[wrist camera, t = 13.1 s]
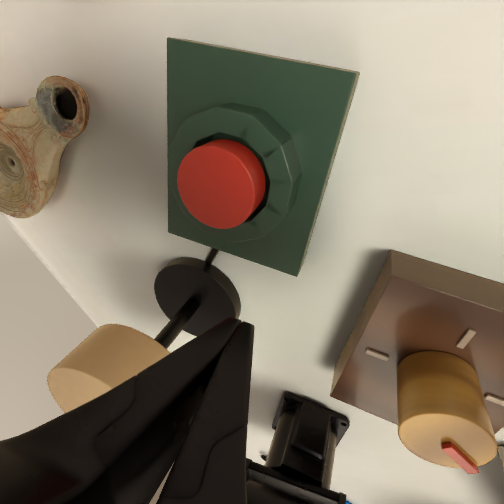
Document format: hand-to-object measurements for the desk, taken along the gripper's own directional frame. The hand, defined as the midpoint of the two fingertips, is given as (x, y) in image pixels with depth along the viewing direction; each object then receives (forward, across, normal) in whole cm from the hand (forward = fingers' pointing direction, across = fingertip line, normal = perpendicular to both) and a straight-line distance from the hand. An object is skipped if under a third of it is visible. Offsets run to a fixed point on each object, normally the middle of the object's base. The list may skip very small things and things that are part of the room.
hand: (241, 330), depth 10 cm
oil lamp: (+12, +24, +3) cm, 27 cm away
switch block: (+12, +4, -1) cm, 13 cm away
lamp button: (+9, +4, -1) cm, 10 cm away
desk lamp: (+12, +8, +10) cm, 18 cm away
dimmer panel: (+12, -10, +8) cm, 18 cm away
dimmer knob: (+9, -10, +8) cm, 16 cm away
